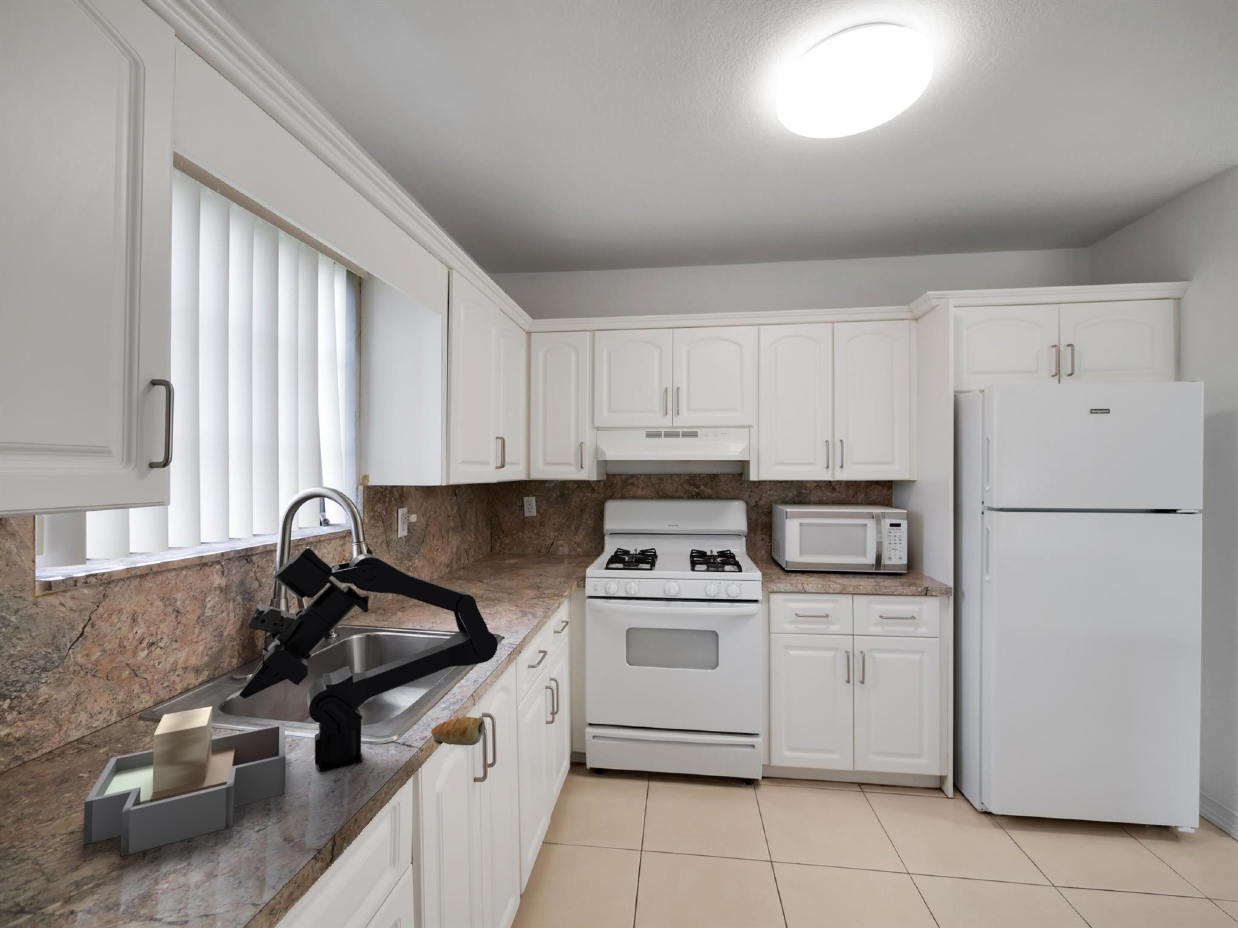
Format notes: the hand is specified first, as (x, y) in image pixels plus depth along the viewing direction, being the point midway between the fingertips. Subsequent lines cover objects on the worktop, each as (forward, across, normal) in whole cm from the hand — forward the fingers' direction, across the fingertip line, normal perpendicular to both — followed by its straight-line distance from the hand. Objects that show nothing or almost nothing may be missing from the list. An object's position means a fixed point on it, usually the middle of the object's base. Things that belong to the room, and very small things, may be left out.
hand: (241, 696), depth 87 cm
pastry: (-14, +2, +34) cm, 37 cm away
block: (+12, 0, +2) cm, 12 cm away
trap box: (+13, +3, +6) cm, 15 cm away
